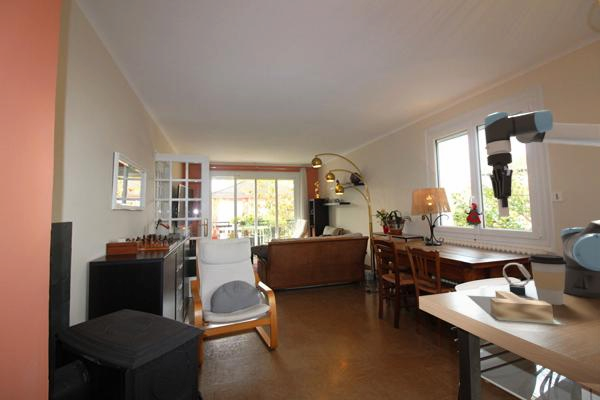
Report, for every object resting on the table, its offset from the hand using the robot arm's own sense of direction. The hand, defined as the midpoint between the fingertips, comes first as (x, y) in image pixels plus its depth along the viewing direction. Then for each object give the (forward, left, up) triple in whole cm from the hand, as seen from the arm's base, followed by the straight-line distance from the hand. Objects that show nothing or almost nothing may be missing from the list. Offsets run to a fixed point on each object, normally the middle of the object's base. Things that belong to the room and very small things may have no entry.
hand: (504, 216), depth 102 cm
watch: (-2, +1, -28) cm, 28 cm away
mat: (+8, +20, -28) cm, 35 cm away
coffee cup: (-7, +10, -28) cm, 31 cm away
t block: (+8, +22, -28) cm, 37 cm away
